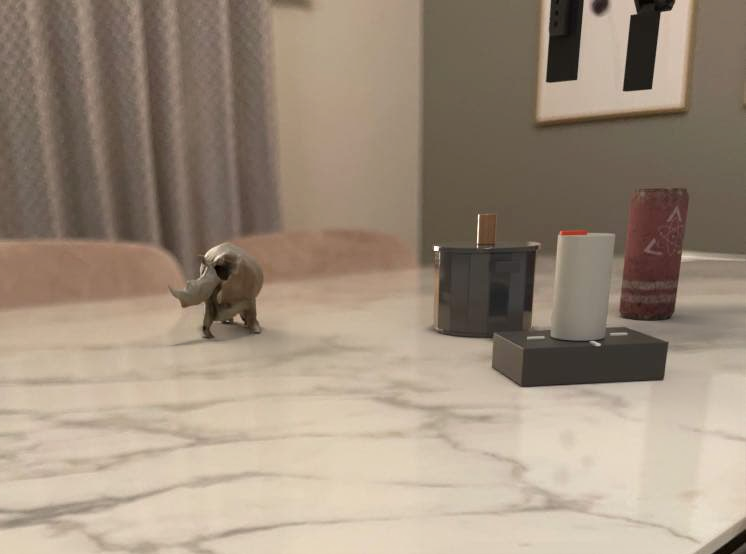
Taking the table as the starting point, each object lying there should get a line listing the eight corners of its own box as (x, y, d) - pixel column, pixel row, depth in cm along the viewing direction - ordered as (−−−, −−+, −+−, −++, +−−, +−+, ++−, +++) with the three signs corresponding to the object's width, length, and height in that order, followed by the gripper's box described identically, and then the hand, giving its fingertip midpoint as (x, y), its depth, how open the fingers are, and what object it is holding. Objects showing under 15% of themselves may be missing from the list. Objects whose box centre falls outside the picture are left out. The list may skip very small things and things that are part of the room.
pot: (506, 316, 101) (510, 242, 98) (554, 339, 87) (561, 253, 83) (419, 320, 100) (420, 245, 97) (453, 343, 85) (456, 256, 82)
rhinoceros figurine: (283, 295, 103) (252, 189, 91) (275, 380, 96) (241, 278, 84) (221, 302, 104) (182, 198, 92) (209, 386, 97) (165, 286, 85)
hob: (619, 360, 76) (623, 324, 75) (665, 380, 68) (671, 340, 67) (490, 366, 75) (492, 329, 74) (522, 387, 67) (525, 347, 66)
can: (678, 314, 100) (695, 186, 95) (667, 321, 95) (684, 187, 90) (626, 311, 103) (639, 187, 98) (613, 318, 98) (626, 188, 93)
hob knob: (592, 331, 73) (601, 228, 69) (613, 339, 69) (625, 231, 65) (542, 333, 72) (550, 229, 69) (561, 341, 68) (570, 232, 65)
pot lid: (519, 249, 96) (522, 210, 95) (556, 257, 86) (559, 214, 84) (421, 252, 95) (422, 213, 93) (446, 261, 84) (447, 217, 83)
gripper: (657, -153, 81) (630, 96, 89) (502, -232, 65) (487, 80, 73) (736, -176, 76) (700, 90, 84) (590, -267, 60) (563, 72, 68)
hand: (601, 86), depth 79 cm, fingers open, 13 cm apart
